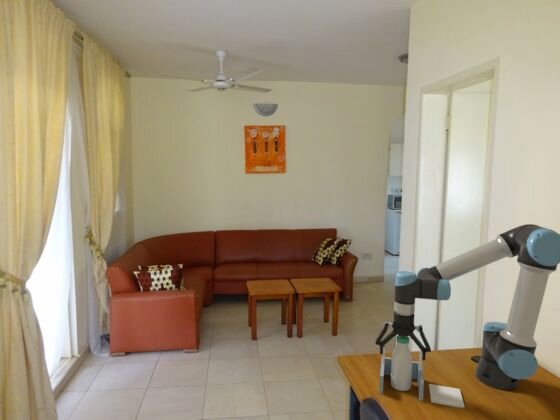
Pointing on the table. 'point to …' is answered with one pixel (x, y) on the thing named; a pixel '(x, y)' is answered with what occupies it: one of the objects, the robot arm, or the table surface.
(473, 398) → the table surface
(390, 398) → the table surface
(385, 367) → the grey u-shaped piece
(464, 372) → the table surface
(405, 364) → the milk bottle
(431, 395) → the tile
